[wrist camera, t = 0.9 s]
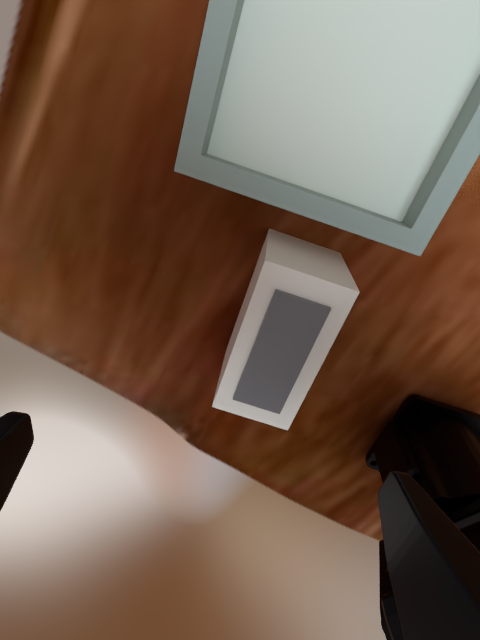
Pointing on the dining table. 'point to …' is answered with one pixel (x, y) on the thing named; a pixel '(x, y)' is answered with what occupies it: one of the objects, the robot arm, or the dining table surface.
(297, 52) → the keyhole tray
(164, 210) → the dining table surface
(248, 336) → the socket block
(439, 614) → the robot arm
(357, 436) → the dining table surface
